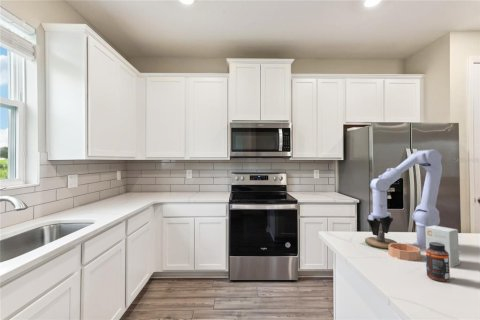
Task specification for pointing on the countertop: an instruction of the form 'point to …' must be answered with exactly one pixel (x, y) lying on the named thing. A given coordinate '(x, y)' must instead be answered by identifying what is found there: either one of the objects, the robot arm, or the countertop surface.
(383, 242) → the lid
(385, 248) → the mat
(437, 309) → the countertop surface
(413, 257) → the bowl
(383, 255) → the countertop surface
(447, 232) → the small box
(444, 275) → the supplement bottle
